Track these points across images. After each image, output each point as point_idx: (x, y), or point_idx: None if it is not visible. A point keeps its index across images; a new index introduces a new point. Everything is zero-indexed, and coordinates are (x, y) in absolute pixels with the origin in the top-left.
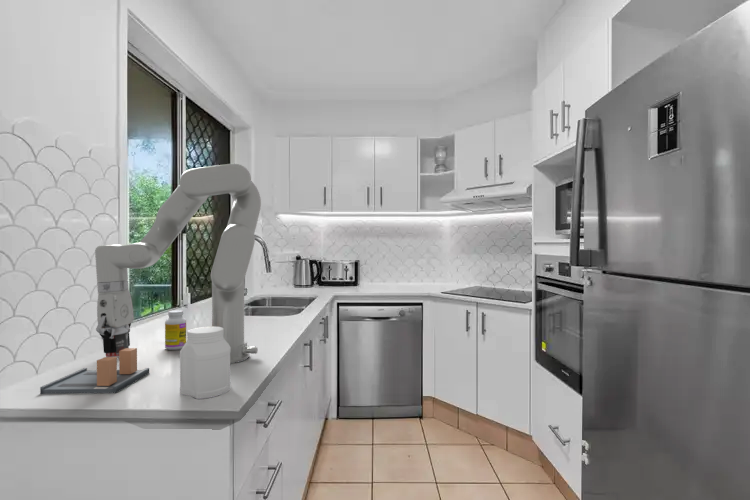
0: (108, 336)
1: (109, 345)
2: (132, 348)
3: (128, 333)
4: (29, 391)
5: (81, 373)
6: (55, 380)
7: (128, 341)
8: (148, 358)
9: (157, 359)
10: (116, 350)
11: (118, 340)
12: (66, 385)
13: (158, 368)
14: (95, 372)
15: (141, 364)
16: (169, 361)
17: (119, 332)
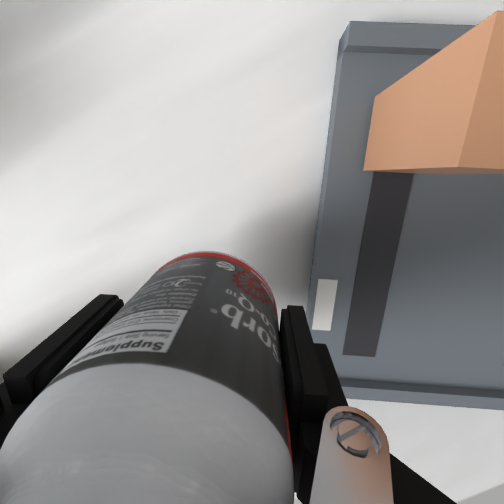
0: (401, 472)
1: (334, 374)
2: (498, 70)
3: (24, 370)
4: (493, 438)
5: (350, 372)
6: (483, 408)
7: (94, 314)
8: (35, 211)
9: (46, 146)
10: (273, 311)
11: (264, 352)
12: None
13: (231, 35)
14: (350, 321)
15: (150, 191)
16: (77, 36)
17: (245, 433)
